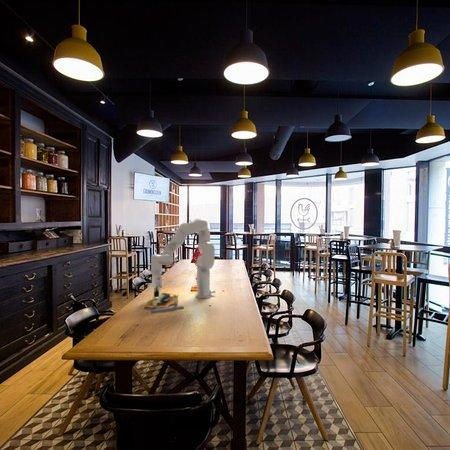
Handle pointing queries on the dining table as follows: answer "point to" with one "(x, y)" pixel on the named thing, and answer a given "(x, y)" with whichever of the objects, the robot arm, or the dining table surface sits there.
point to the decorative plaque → (161, 301)
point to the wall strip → (166, 309)
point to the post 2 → (175, 300)
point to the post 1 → (155, 302)
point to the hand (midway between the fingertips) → (156, 297)
